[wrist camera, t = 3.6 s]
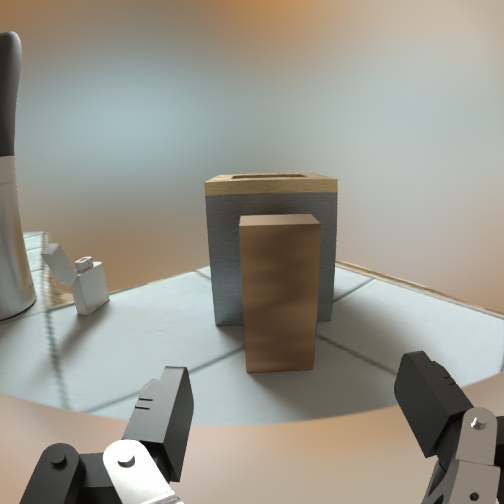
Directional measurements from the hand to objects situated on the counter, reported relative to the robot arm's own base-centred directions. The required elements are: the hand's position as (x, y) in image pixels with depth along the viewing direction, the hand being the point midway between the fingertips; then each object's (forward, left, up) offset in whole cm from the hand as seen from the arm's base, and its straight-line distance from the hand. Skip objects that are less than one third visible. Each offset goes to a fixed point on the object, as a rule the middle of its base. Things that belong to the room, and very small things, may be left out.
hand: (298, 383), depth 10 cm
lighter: (-19, +17, -6) cm, 26 cm away
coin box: (0, +20, -6) cm, 20 cm away
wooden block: (0, +10, -6) cm, 11 cm away
